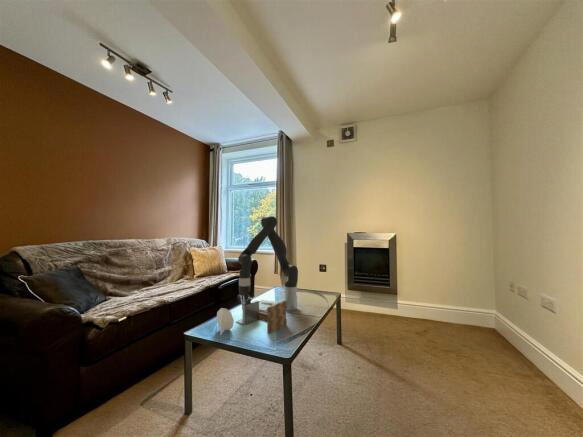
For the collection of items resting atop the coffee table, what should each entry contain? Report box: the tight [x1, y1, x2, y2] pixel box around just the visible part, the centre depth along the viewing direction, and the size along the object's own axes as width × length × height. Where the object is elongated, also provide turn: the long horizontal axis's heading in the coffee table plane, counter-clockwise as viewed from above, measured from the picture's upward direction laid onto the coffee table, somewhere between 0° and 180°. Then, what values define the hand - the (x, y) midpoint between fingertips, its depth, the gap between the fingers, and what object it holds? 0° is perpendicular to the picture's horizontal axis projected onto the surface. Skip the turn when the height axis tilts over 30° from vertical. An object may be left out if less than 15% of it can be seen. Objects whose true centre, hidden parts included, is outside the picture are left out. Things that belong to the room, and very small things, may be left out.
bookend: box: [235, 300, 260, 326], centre depth 157 cm, size 13×8×12 cm, turn 145°
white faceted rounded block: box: [216, 307, 234, 336], centre depth 137 cm, size 10×11×15 cm
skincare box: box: [258, 299, 280, 314], centre depth 175 cm, size 21×5×16 cm
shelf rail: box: [258, 312, 288, 327], centre depth 158 cm, size 2×31×4 cm, turn 55°
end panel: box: [266, 300, 287, 334], centre depth 144 cm, size 16×2×15 cm, turn 145°
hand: (244, 310), depth 159 cm, fingers closed
